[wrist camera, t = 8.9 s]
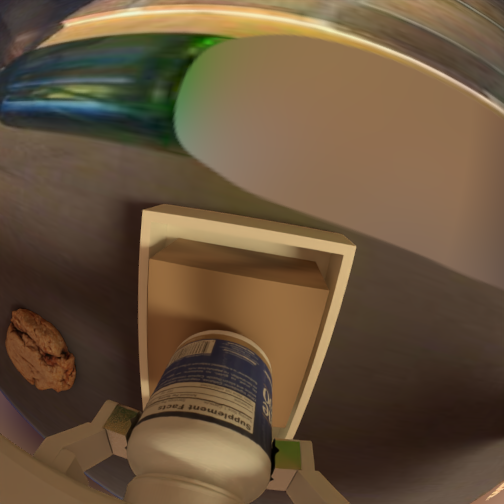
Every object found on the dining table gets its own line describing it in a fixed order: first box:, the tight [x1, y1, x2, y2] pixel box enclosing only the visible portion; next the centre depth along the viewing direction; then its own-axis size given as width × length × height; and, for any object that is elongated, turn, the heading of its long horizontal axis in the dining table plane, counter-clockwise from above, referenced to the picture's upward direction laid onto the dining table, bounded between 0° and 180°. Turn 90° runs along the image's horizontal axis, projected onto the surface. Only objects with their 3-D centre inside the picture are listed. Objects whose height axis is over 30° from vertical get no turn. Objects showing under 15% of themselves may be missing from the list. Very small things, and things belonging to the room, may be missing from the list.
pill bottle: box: [123, 330, 272, 504], centre depth 10 cm, size 5×5×10 cm
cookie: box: [6, 309, 76, 392], centre depth 23 cm, size 10×11×3 cm
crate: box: [138, 204, 356, 442], centre depth 20 cm, size 12×22×4 cm, turn 171°
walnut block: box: [147, 238, 329, 428], centre depth 18 cm, size 9×10×5 cm
